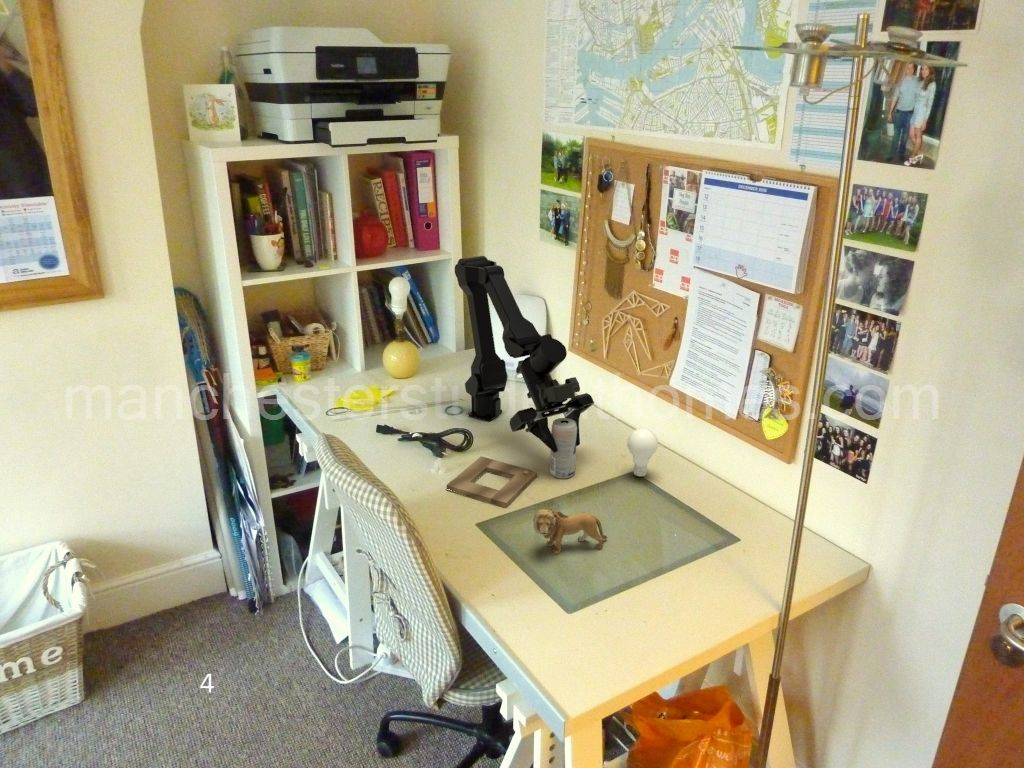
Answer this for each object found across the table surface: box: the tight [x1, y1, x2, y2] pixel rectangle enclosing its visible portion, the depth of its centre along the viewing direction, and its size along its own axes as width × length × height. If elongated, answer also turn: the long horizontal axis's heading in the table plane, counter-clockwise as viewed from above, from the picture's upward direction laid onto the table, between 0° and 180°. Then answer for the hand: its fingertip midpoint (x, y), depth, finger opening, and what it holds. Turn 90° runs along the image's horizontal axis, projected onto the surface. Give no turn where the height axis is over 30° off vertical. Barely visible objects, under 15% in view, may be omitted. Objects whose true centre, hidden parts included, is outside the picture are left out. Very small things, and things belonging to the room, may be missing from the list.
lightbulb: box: [627, 427, 659, 478], centre depth 160 cm, size 6×6×11 cm
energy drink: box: [549, 417, 577, 480], centre depth 160 cm, size 5×5×12 cm
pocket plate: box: [446, 456, 539, 509], centre depth 158 cm, size 14×14×2 cm
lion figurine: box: [532, 508, 608, 555], centre depth 137 cm, size 15×5×9 cm, turn 109°
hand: (567, 448), depth 159 cm, fingers closed on energy drink, 5 cm apart
